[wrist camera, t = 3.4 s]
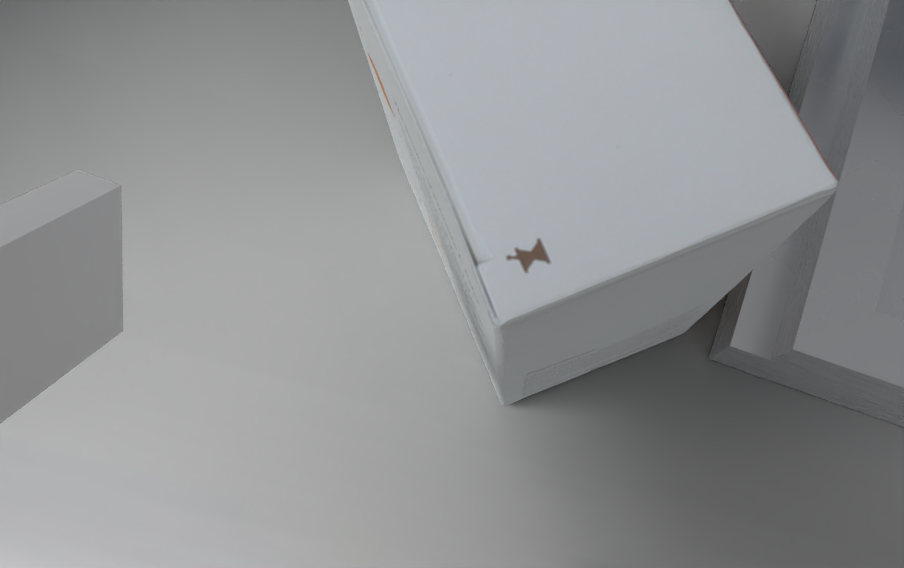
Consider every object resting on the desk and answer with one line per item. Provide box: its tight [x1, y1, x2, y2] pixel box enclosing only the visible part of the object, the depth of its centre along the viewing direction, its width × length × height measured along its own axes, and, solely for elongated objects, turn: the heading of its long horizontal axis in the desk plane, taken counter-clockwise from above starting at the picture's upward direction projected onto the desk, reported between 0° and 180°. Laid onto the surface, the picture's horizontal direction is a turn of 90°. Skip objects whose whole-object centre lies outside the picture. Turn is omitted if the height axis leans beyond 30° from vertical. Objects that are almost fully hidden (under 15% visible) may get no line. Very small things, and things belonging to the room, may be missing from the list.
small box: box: [348, 0, 839, 406], centre depth 17 cm, size 8×6×10 cm
